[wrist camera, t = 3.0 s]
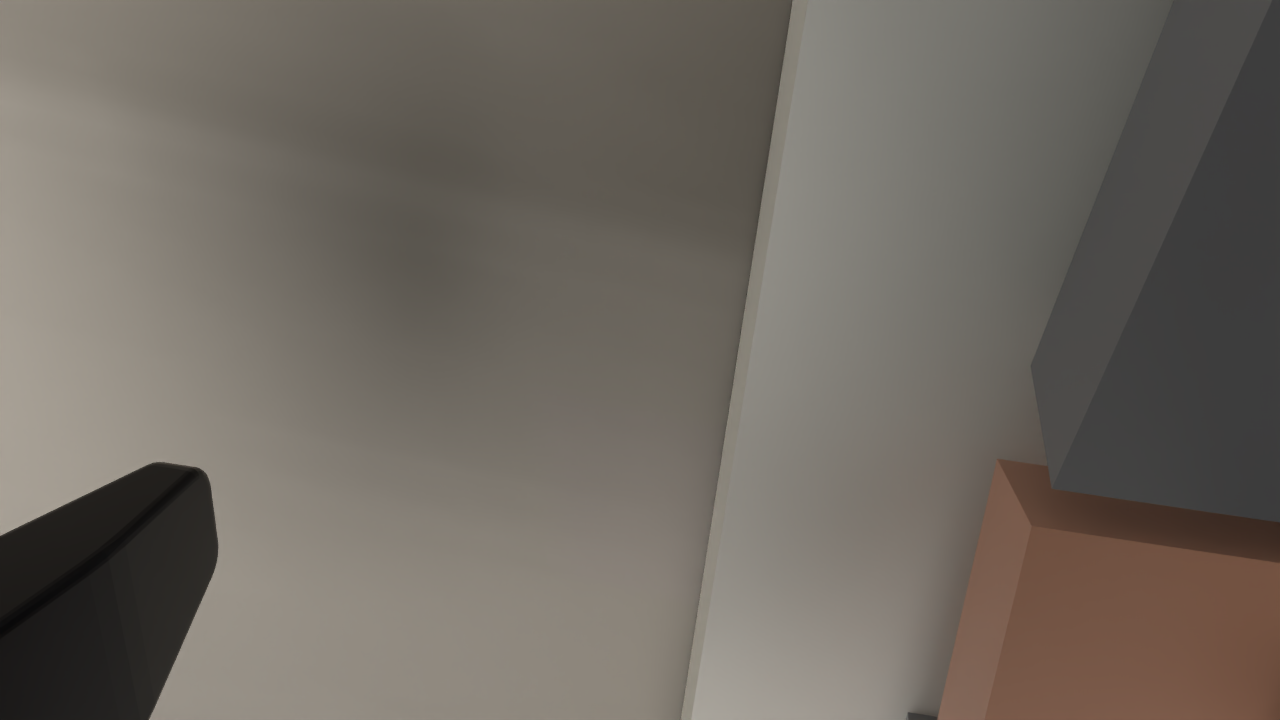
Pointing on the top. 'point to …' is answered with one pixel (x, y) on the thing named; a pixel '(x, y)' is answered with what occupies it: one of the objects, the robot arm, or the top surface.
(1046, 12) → the power strip
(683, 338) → the top surface
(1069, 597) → the rocker
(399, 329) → the top surface
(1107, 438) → the rocker
